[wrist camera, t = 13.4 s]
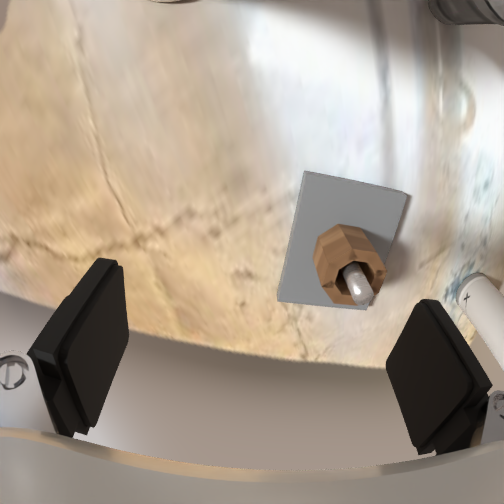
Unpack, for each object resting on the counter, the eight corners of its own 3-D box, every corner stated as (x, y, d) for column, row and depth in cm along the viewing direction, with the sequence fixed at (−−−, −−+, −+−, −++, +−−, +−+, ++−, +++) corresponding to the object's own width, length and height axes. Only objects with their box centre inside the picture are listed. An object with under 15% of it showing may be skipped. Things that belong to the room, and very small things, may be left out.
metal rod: (335, 241, 36) (357, 286, 28) (351, 244, 36) (376, 288, 28) (331, 257, 37) (350, 304, 29) (347, 259, 37) (369, 305, 29)
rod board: (303, 170, 34) (306, 174, 32) (401, 191, 34) (407, 195, 33) (276, 294, 41) (277, 301, 40) (363, 303, 42) (366, 310, 41)
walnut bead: (321, 220, 35) (333, 245, 29) (374, 229, 35) (393, 255, 30) (308, 271, 38) (316, 301, 32) (358, 277, 38) (372, 307, 33)
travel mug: (448, 292, 41) (515, 391, 24) (479, 264, 39) (557, 354, 21) (460, 313, 43) (519, 407, 26) (489, 288, 41) (557, 374, 23)
